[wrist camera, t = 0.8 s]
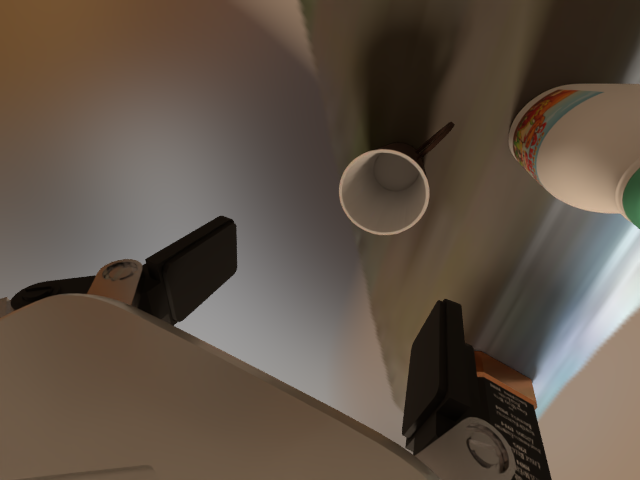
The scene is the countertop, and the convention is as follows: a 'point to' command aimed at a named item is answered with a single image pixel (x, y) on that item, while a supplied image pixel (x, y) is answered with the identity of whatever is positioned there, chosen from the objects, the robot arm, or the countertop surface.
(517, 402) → the whiskey bottle
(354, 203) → the coffee mug
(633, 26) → the countertop surface
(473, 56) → the countertop surface
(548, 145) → the milk bottle
